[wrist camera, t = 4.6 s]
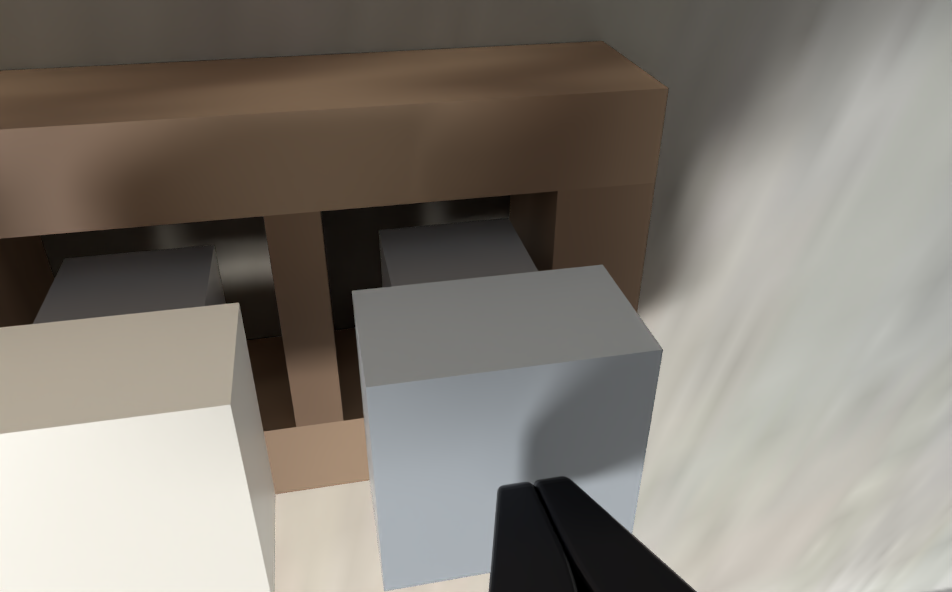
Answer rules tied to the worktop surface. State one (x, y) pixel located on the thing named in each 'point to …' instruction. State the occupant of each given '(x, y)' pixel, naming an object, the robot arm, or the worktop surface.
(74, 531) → the key ivory
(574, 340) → the key slate
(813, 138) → the worktop surface
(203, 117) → the key panel
